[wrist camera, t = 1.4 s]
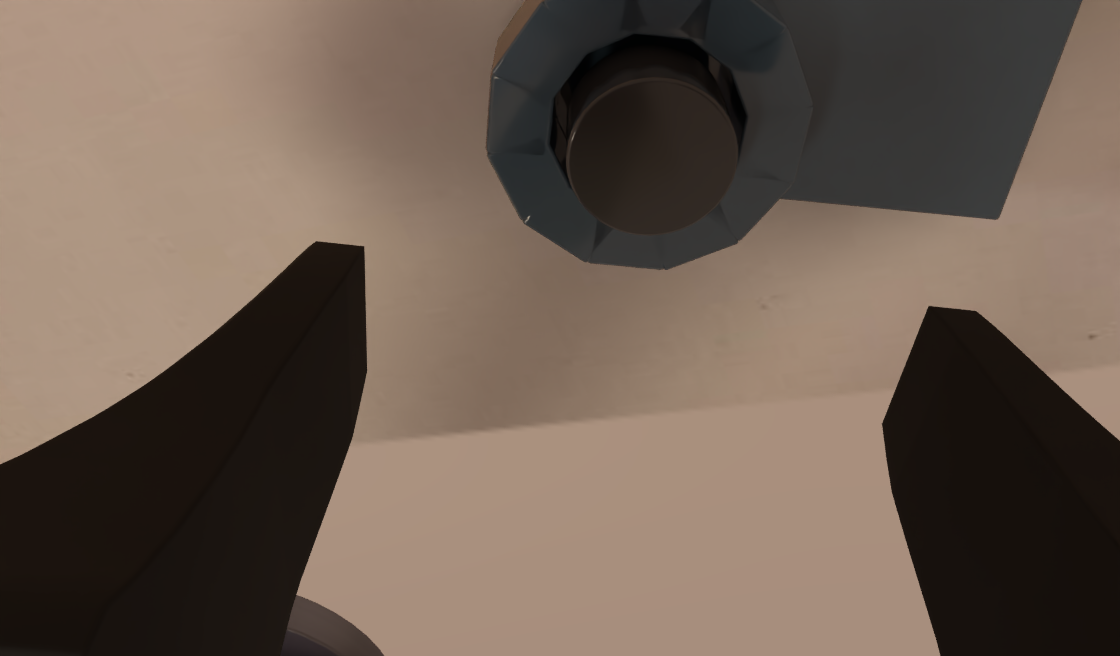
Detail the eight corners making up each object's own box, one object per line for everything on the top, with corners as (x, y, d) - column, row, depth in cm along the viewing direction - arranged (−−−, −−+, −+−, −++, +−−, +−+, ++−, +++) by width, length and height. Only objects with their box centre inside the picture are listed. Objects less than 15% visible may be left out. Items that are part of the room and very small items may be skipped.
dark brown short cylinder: (710, 200, 20) (720, 244, 19) (558, 186, 20) (557, 229, 19) (740, 52, 19) (755, 87, 17) (575, 35, 18) (575, 69, 17)
